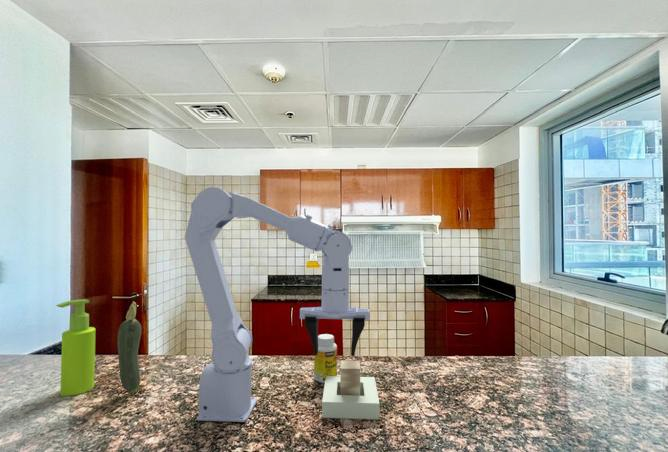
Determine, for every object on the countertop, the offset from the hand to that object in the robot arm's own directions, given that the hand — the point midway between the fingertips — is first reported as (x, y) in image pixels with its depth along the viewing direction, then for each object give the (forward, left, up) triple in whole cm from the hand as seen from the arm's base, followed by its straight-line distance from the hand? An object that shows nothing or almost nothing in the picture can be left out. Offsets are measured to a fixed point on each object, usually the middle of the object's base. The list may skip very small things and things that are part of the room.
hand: (334, 353), depth 65 cm
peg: (+3, 0, -10) cm, 11 cm away
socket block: (+3, 0, -10) cm, 11 cm away
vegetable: (-45, +1, -11) cm, 46 cm away
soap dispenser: (-58, +2, -11) cm, 59 cm away
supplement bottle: (-3, +11, -11) cm, 16 cm away
